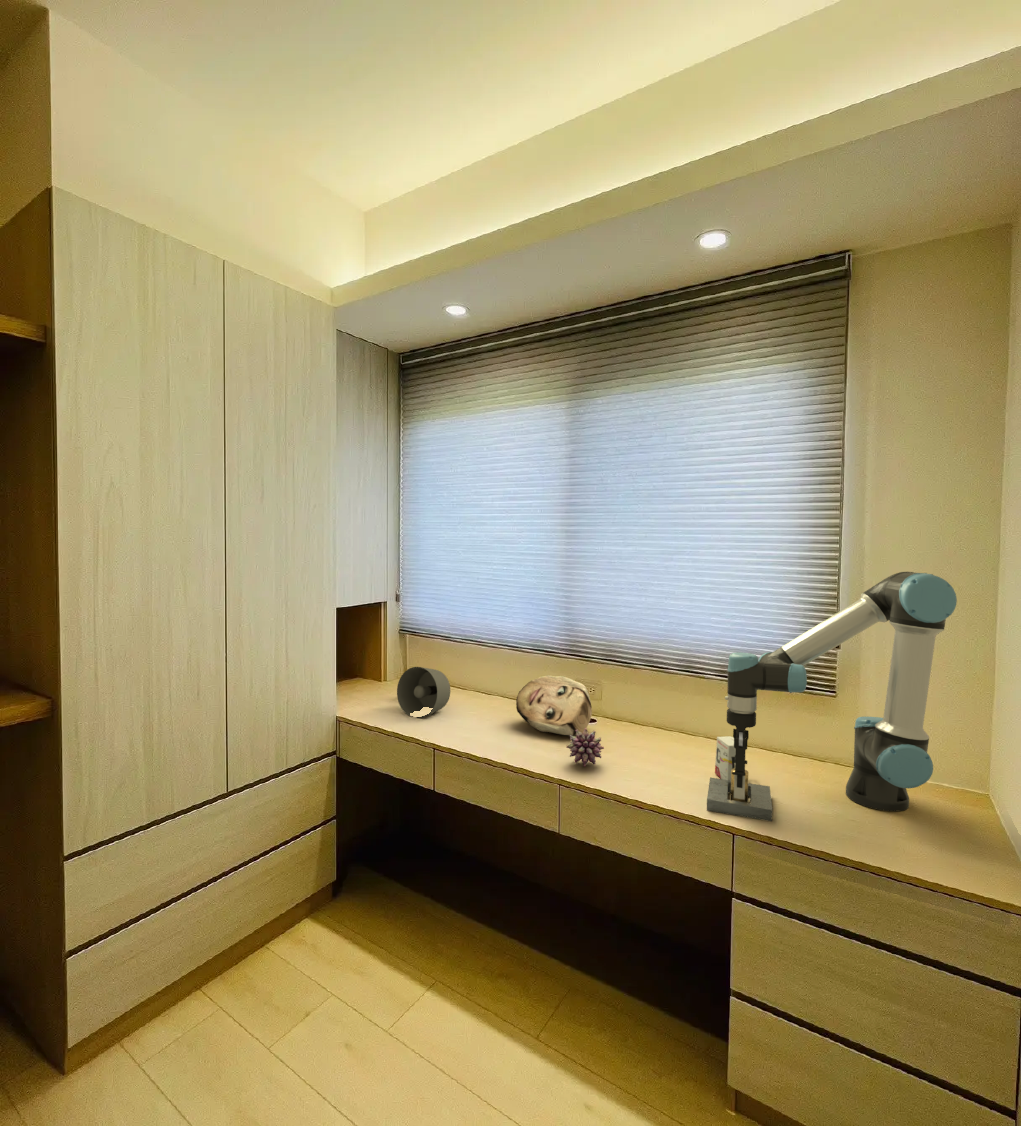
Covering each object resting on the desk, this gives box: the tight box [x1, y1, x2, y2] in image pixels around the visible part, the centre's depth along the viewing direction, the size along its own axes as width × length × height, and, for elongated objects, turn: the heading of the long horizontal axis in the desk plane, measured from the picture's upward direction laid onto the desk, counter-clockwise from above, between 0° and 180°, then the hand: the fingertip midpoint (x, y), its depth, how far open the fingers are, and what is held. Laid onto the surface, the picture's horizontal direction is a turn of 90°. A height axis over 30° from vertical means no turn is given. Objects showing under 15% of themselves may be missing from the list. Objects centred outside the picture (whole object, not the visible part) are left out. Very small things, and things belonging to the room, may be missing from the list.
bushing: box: [730, 768, 749, 803], centre depth 161 cm, size 4×4×9 cm
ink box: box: [714, 735, 736, 780], centre depth 178 cm, size 9×5×12 cm, turn 6°
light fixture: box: [396, 666, 451, 718], centre depth 250 cm, size 20×25×27 cm
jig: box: [706, 777, 773, 822], centre depth 161 cm, size 16×16×3 cm
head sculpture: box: [515, 674, 593, 736], centre depth 225 cm, size 23×17×28 cm
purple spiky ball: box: [566, 727, 605, 768], centre depth 187 cm, size 12×12×12 cm
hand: (739, 792), depth 161 cm, fingers open, 7 cm apart
